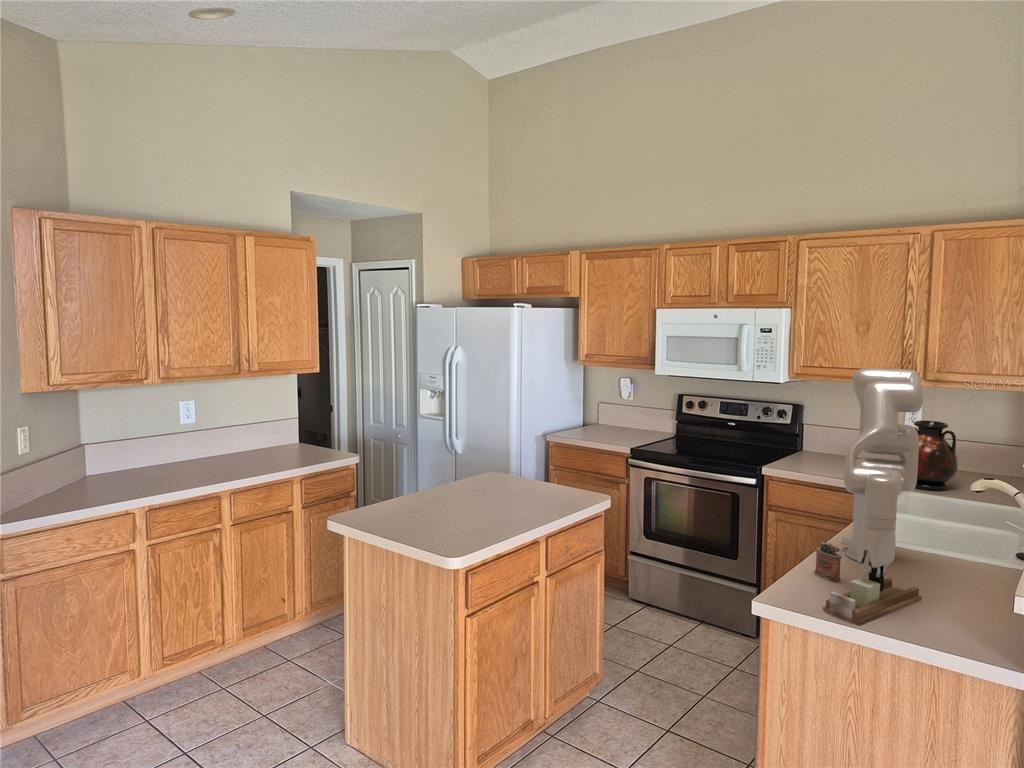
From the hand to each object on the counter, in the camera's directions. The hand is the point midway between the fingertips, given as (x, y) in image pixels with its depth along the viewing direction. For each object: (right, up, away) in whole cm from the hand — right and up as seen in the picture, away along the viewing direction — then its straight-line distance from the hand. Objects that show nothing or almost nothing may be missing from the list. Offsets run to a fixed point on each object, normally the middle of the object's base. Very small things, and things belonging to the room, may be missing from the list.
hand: (875, 589), depth 183 cm
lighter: (-4, -2, +19) cm, 20 cm away
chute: (-1, -4, 0) cm, 4 cm away
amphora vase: (+84, +9, +118) cm, 145 cm away
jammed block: (-4, -3, -2) cm, 6 cm away
